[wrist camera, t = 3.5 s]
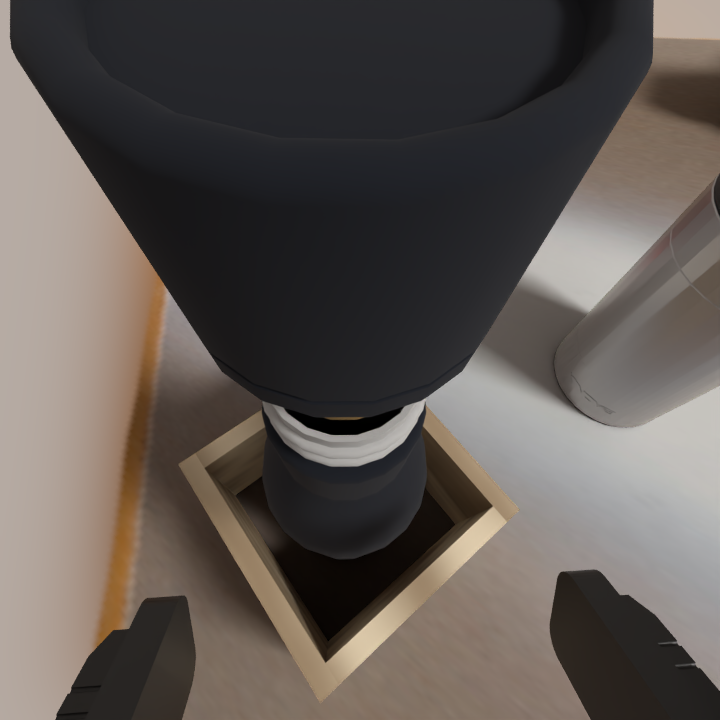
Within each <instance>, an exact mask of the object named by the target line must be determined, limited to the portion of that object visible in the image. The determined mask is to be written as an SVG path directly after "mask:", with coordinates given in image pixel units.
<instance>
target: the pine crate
mask: <svg viewBox="0 0 720 720" xmlns="http://www.w3.org/2000/svg"><path fill="white" fill-rule="evenodd" d="M421 434H422V437H423V439H424V445H425V455H426V467H427V480H426V485H425V488H426V489H427V490H428V492H429V493H430V494H431V495H432V497H433V498H434V499H435V500H436V501H437V503H438V504H439V505H440V506H441V507H442V509H443V510H444V511H445V512H446V514H447V515H448V516H449V517H450V518H451V520H452V521H453V522H454V523H455V524H456V525H455V526H453V527H452V528H451V529H450V530H449V531H448V532H447V533H446V534H445V535H444V536H443V537H441V538H440V539H439V540H438V541H437V542H436V543H435V544H434V545H433V546H432V547H431V548H429V549H428V550H427V551H426V552H425V553H424V554H423V555H422V556H421V557H420V558H419V559H418V560H416V561H415V562H414V563H413V564H412V565H411V566H410V567H409V568H408V569H407V570H406V571H404V572H403V573H402V574H401V575H400V576H399V577H398V578H397V579H396V580H395V581H394V582H392V583H391V584H390V585H389V586H388V587H387V588H386V589H385V590H384V591H383V592H382V593H381V594H379V595H378V596H377V597H376V598H375V599H374V600H373V601H372V602H371V603H370V604H369V605H367V606H366V607H365V608H364V609H363V610H362V611H361V612H360V613H359V614H358V615H357V616H355V617H354V618H353V619H352V620H351V621H350V622H349V623H348V624H347V625H346V626H345V627H343V628H342V629H341V630H340V631H339V632H338V633H337V634H336V635H335V636H334V637H333V638H332V639H330V640H329V641H327V639H326V637H325V636H324V634H323V633H322V631H321V630H320V628H319V626H318V625H317V623H316V622H315V620H314V619H313V617H312V615H311V614H310V612H309V611H308V609H307V608H306V606H305V604H304V603H303V601H302V600H301V598H300V596H299V595H298V593H297V592H296V590H295V589H294V587H293V585H292V584H291V582H290V581H289V579H288V578H287V576H286V574H285V573H284V571H283V570H282V568H281V567H280V565H279V563H278V562H277V560H276V559H275V557H274V555H273V554H272V552H271V551H270V549H269V548H268V546H267V544H266V543H265V541H264V540H263V538H262V537H261V535H260V533H259V532H258V530H257V529H256V527H255V526H254V524H253V522H252V521H251V519H250V518H249V516H248V514H247V513H246V511H245V510H244V508H243V507H242V505H241V503H240V502H239V500H238V499H237V497H236V496H235V495H236V494H238V493H239V492H240V491H242V490H243V489H245V488H246V487H247V486H249V485H250V484H252V483H253V482H254V481H256V480H257V479H259V478H260V477H261V476H262V471H263V458H264V447H265V441H266V438H267V433H266V429H265V425H264V421H263V417H262V409H261V410H260V411H258V412H257V413H255V414H254V415H252V416H251V417H249V418H248V419H246V420H245V421H243V422H242V423H240V424H239V425H237V426H236V427H234V428H233V429H231V430H230V431H228V432H227V433H225V434H224V435H222V436H221V437H219V438H217V439H216V440H214V441H213V442H211V443H210V444H208V445H207V446H205V447H204V448H202V449H201V450H199V451H198V452H196V453H195V454H193V455H192V456H190V457H189V458H187V459H186V460H184V461H183V462H181V463H180V464H178V465H179V467H180V468H181V470H182V472H183V473H184V475H185V477H186V479H187V480H188V482H189V484H190V485H191V487H192V489H193V490H194V492H195V494H196V495H197V497H198V499H199V500H200V502H201V504H202V505H203V507H204V509H205V510H206V512H207V514H208V515H209V517H210V519H211V520H212V522H213V524H214V525H215V527H216V529H217V530H218V532H219V534H220V536H221V537H222V539H223V541H224V542H225V544H226V546H227V547H228V549H229V551H230V552H231V554H232V556H233V557H234V559H235V561H236V562H237V564H238V566H239V567H240V569H241V571H242V572H243V574H244V576H245V577H246V579H247V581H248V582H249V584H250V586H251V587H252V589H253V591H254V592H255V594H256V596H257V598H258V599H259V601H260V603H261V604H262V606H263V608H264V609H265V611H266V613H267V614H268V616H269V618H270V619H271V621H272V623H273V624H274V626H275V628H276V629H277V631H278V633H279V634H280V636H281V638H282V639H283V641H284V643H285V644H286V646H287V648H288V649H289V651H290V653H291V655H292V656H293V658H294V660H295V661H296V663H297V665H298V666H299V668H300V670H301V671H302V673H303V675H304V676H305V678H306V680H307V681H308V683H309V685H310V686H311V688H312V690H313V691H314V693H315V695H316V696H317V698H318V700H319V701H320V703H321V702H322V701H323V700H324V699H325V698H326V697H327V696H328V695H329V694H330V693H331V692H332V691H333V690H334V689H335V688H336V687H337V686H338V685H339V684H340V683H341V682H343V681H344V680H345V679H346V678H347V677H348V676H349V675H350V674H351V673H352V672H353V671H354V670H355V669H356V668H357V667H358V666H359V665H360V664H361V663H362V662H363V661H364V660H365V659H366V658H367V657H368V656H369V655H370V654H371V653H372V652H373V651H374V650H376V649H377V648H378V647H379V646H380V645H381V644H382V643H383V642H384V641H385V640H386V639H387V638H388V637H389V636H390V635H391V634H392V633H393V632H394V631H395V630H396V629H397V628H398V627H399V626H400V625H401V624H402V623H403V622H404V621H405V620H406V619H408V618H409V617H410V616H411V615H412V614H413V613H414V612H415V611H416V610H417V609H418V608H419V607H420V606H421V605H422V604H423V603H424V602H425V601H426V600H427V599H428V598H429V597H430V596H431V595H432V594H433V593H434V592H435V591H436V590H437V589H438V588H440V587H441V586H442V585H443V584H444V583H445V582H446V581H447V580H448V579H449V578H450V577H451V576H452V575H453V574H454V573H455V572H456V571H457V570H458V569H459V568H460V567H461V566H462V565H463V564H464V563H465V562H466V561H467V560H468V559H469V558H470V557H471V556H473V555H474V554H475V553H476V552H477V551H478V550H479V549H480V548H481V547H482V546H483V545H484V544H485V543H486V542H487V541H488V540H489V539H490V538H491V537H492V536H493V535H494V534H495V533H496V532H497V531H498V530H499V529H500V528H501V527H502V526H503V525H505V524H506V523H507V522H508V521H509V520H510V519H511V518H512V517H513V516H514V515H515V514H516V513H517V512H518V511H519V510H520V509H519V508H518V507H517V506H516V505H515V504H514V503H513V502H512V501H511V499H510V498H509V497H508V496H507V495H506V494H505V493H504V492H503V491H502V489H501V488H500V487H499V486H498V485H497V484H496V483H495V482H494V481H493V479H492V478H491V477H490V476H489V475H488V474H487V473H486V472H485V470H484V469H483V468H482V467H481V466H480V465H479V464H478V463H477V462H476V460H475V459H474V458H473V457H472V456H471V455H470V454H469V453H468V452H467V450H466V449H465V448H464V447H463V446H462V445H461V444H460V443H459V442H458V440H457V439H456V438H455V437H454V436H453V435H452V434H451V433H450V431H449V430H448V429H447V428H446V427H445V426H444V425H443V424H442V423H441V421H440V420H439V419H438V418H437V417H436V416H435V415H434V414H433V413H432V411H431V410H430V409H429V408H428V407H427V406H426V416H425V420H424V424H423V428H422V432H421Z"/></svg>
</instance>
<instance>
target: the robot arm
mask: <svg viewBox="0 0 720 720" xmlns="http://www.w3.org/2000/svg"><path fill="white" fill-rule="evenodd" d="M554 367H555V373H556V377H557V380H558V382H559V385H560V387H561V388H562V390H563V392H564V393H565V395H566V396H567V398H568V399H569V400H570V401H571V402H572V403H573V404H574V405H575V406H576V407H577V408H578V409H579V410H581V411H582V412H583V413H584V414H586V415H588V416H589V417H591V418H593V419H595V420H596V421H599V422H602V423H604V424H607V425H610V426H616V427H636V426H639V425H643V424H645V423H647V422H649V421H651V420H653V419H655V418H657V417H659V416H661V415H663V414H665V413H667V412H669V411H671V410H673V409H675V408H677V407H679V406H681V405H683V404H685V403H687V402H689V401H691V400H693V399H695V398H697V397H699V396H701V395H703V394H705V393H707V392H709V391H711V390H713V389H714V388H716V387H718V386H720V174H719V175H718V176H717V177H716V178H715V179H714V180H713V181H712V182H711V183H710V184H709V186H708V187H707V188H706V189H705V190H704V191H703V192H702V193H701V194H700V195H699V196H698V197H697V198H696V199H695V200H694V202H693V203H692V204H691V205H690V206H689V207H688V208H687V209H686V210H685V211H684V212H683V213H682V214H681V215H680V216H679V218H678V219H677V220H676V221H675V222H674V223H673V224H672V225H671V226H670V227H669V228H668V230H667V231H666V232H665V233H664V234H663V235H662V236H661V237H660V238H659V239H658V240H657V241H656V242H655V243H654V244H653V245H652V246H651V248H650V249H649V250H648V251H647V252H646V253H645V254H644V255H643V256H642V257H641V258H640V259H639V260H638V261H637V262H636V263H635V264H634V266H633V267H632V268H631V269H630V270H629V271H628V272H627V273H626V274H625V275H624V276H623V277H622V278H621V279H620V280H619V281H618V282H617V284H616V285H615V286H614V287H613V288H612V289H611V290H610V291H609V292H608V293H607V294H606V295H605V296H604V297H603V298H602V299H601V300H600V302H599V303H598V304H597V305H596V306H595V307H594V308H593V309H592V310H591V311H590V312H589V313H588V314H587V315H586V316H585V317H584V318H583V319H582V320H581V321H580V322H579V324H578V325H577V326H576V327H575V328H574V329H573V330H572V331H571V332H570V333H569V334H568V335H567V336H566V337H565V338H564V340H563V341H562V342H561V344H560V345H559V346H558V349H557V351H556V354H555V362H554ZM550 635H551V640H552V644H553V647H554V650H555V653H556V655H557V657H558V659H559V661H560V663H561V665H562V667H563V669H564V670H565V672H566V674H567V676H568V678H569V680H570V682H571V684H572V685H573V687H574V689H575V691H576V693H577V695H578V697H579V698H580V700H581V702H582V704H583V706H584V708H585V710H586V711H587V713H588V715H589V717H590V719H591V720H720V691H719V690H718V689H717V687H716V686H715V685H714V684H713V683H712V682H711V680H710V679H709V678H708V677H707V676H706V674H705V673H704V672H703V671H702V670H701V669H700V668H697V667H696V665H695V661H694V660H693V659H692V658H691V657H690V656H689V654H688V653H687V652H686V651H685V650H684V648H683V647H682V646H679V645H678V644H677V640H676V639H675V638H674V637H673V635H672V634H671V633H670V632H669V631H668V630H667V628H666V627H665V626H664V625H663V624H662V623H661V621H660V620H659V619H658V618H657V617H656V615H654V614H653V613H652V612H650V611H649V610H648V609H646V608H645V607H644V606H642V605H641V604H640V603H638V602H637V601H636V600H634V599H633V598H632V597H630V596H629V595H619V594H618V592H617V591H616V590H615V589H614V587H613V586H612V585H611V584H610V582H609V581H608V580H607V579H606V577H605V576H604V575H603V574H602V573H601V572H599V571H598V570H581V571H566V572H561V573H560V574H559V575H558V578H557V584H556V590H555V596H554V602H553V607H552V613H551V619H550ZM195 660H196V652H195V644H194V638H193V632H192V626H191V619H190V613H189V607H188V602H187V598H186V597H185V596H172V597H157V598H147V599H145V600H144V601H143V602H142V604H141V606H140V607H139V610H138V612H137V614H136V616H135V618H134V620H133V622H132V624H131V626H130V628H129V629H125V630H113V631H112V632H111V633H110V634H109V635H108V636H107V638H106V639H105V640H104V641H103V642H102V643H101V644H100V645H99V646H98V647H97V648H96V649H95V650H94V651H93V652H92V653H91V654H90V655H89V657H88V658H87V660H86V662H85V664H84V665H83V667H82V669H81V671H80V673H79V674H78V676H77V678H76V680H75V682H74V684H73V685H72V687H71V692H70V694H67V696H66V698H65V700H64V702H63V704H62V706H61V707H60V709H59V711H58V713H57V717H56V720H182V717H183V714H184V710H185V707H186V703H187V700H188V697H189V693H190V690H191V686H192V682H193V677H194V671H195Z"/></svg>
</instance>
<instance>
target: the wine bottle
mask: <svg viewBox="0 0 720 720" xmlns="http://www.w3.org/2000/svg"><path fill="white" fill-rule="evenodd" d="M10 39H11V48H12V50H13V52H14V54H15V56H16V58H17V60H18V62H19V63H20V65H21V66H22V68H23V69H24V71H25V72H26V74H27V75H28V77H29V79H30V80H31V82H32V83H33V85H34V86H35V88H36V89H37V91H38V92H39V94H40V95H41V97H42V98H43V100H44V101H45V103H46V104H47V106H48V108H49V109H50V110H51V112H52V114H53V115H54V117H55V118H56V120H57V121H58V123H59V124H60V126H61V127H62V129H63V130H64V132H65V134H66V135H67V137H68V138H69V140H70V141H71V143H72V144H73V146H74V147H75V149H76V150H77V152H78V153H79V155H80V156H81V158H82V159H83V161H84V162H85V164H86V166H87V167H88V169H89V170H90V172H91V173H92V175H93V176H94V178H95V179H96V181H97V182H98V184H99V185H100V187H101V188H102V190H103V192H104V193H105V195H106V196H107V198H108V199H109V201H110V202H111V204H112V205H113V207H114V208H115V210H116V211H117V213H118V214H119V216H120V218H121V219H122V220H123V222H124V224H125V225H126V227H127V228H128V230H129V231H130V233H131V234H132V236H133V237H134V239H135V240H136V242H137V243H138V245H139V247H140V248H141V250H142V251H143V253H144V254H145V256H146V257H147V259H148V260H149V262H150V263H151V265H152V266H153V268H154V269H155V271H156V272H157V274H158V276H159V277H160V279H161V280H162V282H163V283H164V285H165V286H166V288H167V289H168V291H169V292H170V294H171V295H172V297H173V298H174V300H175V302H176V303H177V305H178V306H179V308H180V309H181V311H182V312H183V314H184V315H185V317H186V318H187V320H188V321H189V323H190V324H191V326H192V327H193V329H194V331H195V332H196V334H197V335H198V337H199V338H200V340H201V341H202V343H203V344H204V346H205V347H206V349H207V350H208V352H209V353H210V355H211V356H212V358H213V359H214V361H215V362H216V364H217V365H218V367H219V368H220V370H221V371H222V372H223V373H224V374H226V375H227V376H229V377H230V378H231V379H233V380H234V381H236V382H237V383H238V384H240V385H241V386H242V387H244V388H245V389H247V390H248V391H249V392H251V393H252V394H254V395H255V396H256V397H258V398H259V399H261V400H262V417H263V421H264V425H265V429H266V433H267V438H266V441H265V447H264V458H263V471H262V479H263V485H264V489H265V494H266V498H267V502H268V506H269V509H270V511H271V512H272V514H273V515H274V517H275V519H276V520H277V522H278V523H279V525H280V527H281V528H282V530H283V531H284V532H285V533H286V534H288V535H289V536H290V537H291V538H293V539H294V540H295V541H296V542H298V543H299V544H300V545H301V546H303V547H304V548H305V549H308V550H311V551H314V552H317V553H320V554H323V555H326V556H329V557H331V558H335V559H338V560H339V559H355V558H358V557H360V556H363V555H366V554H368V553H371V552H374V551H376V550H379V549H382V548H384V547H386V546H387V545H388V544H390V543H391V542H392V541H393V540H394V539H396V538H397V537H398V536H399V535H400V534H401V533H403V532H404V531H405V530H406V529H407V528H408V526H409V524H410V523H411V521H412V519H413V518H414V516H415V514H416V513H417V511H418V510H419V508H420V506H421V502H422V498H423V493H424V489H425V485H426V480H427V467H426V455H425V445H424V439H423V437H422V434H421V432H422V428H423V424H424V420H425V416H426V402H425V400H426V397H428V396H429V395H430V394H432V393H433V392H435V391H436V390H437V389H439V388H440V387H441V386H443V385H444V384H445V383H447V382H448V381H449V380H451V379H452V378H454V377H455V376H456V375H458V374H459V373H460V372H462V371H463V369H464V367H465V366H466V364H467V363H468V361H469V360H470V358H471V357H472V355H473V354H474V352H475V351H476V349H477V348H478V346H479V345H480V343H481V342H482V340H483V339H484V337H485V336H486V334H487V332H488V331H489V329H490V328H491V326H492V324H493V323H494V321H495V319H496V318H497V316H498V314H499V313H500V311H501V310H502V308H503V306H504V305H505V303H506V302H507V300H508V298H509V297H510V295H511V293H512V292H513V290H514V289H515V287H516V285H517V284H518V282H519V280H520V279H521V277H522V276H523V274H524V272H525V271H526V269H527V267H528V266H529V264H530V263H531V261H532V259H533V258H534V256H535V254H536V253H537V251H538V250H539V248H540V246H541V245H542V243H543V242H544V240H545V238H546V237H547V235H548V233H549V232H550V230H551V229H552V227H553V225H554V224H555V222H556V220H557V219H558V217H559V216H560V214H561V212H562V211H563V209H564V207H565V206H566V204H567V203H568V201H569V199H570V198H571V196H572V194H573V193H574V191H575V190H576V188H577V186H578V185H579V183H580V181H581V180H582V178H583V177H584V175H585V173H586V172H587V170H588V168H589V167H590V165H591V164H592V162H593V160H594V159H595V157H596V155H597V154H598V152H599V151H600V149H601V147H602V146H603V144H604V142H605V141H606V139H607V138H608V136H609V134H610V133H611V131H612V130H613V128H614V126H615V125H616V123H617V121H618V120H619V118H620V117H621V115H622V113H623V112H624V110H625V108H626V107H627V105H628V104H629V102H630V100H631V99H632V97H633V95H634V94H635V92H636V91H637V89H638V87H639V86H640V84H641V82H642V81H643V79H644V78H645V76H646V74H647V73H648V70H649V68H650V66H651V63H652V56H653V0H10Z"/></svg>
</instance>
